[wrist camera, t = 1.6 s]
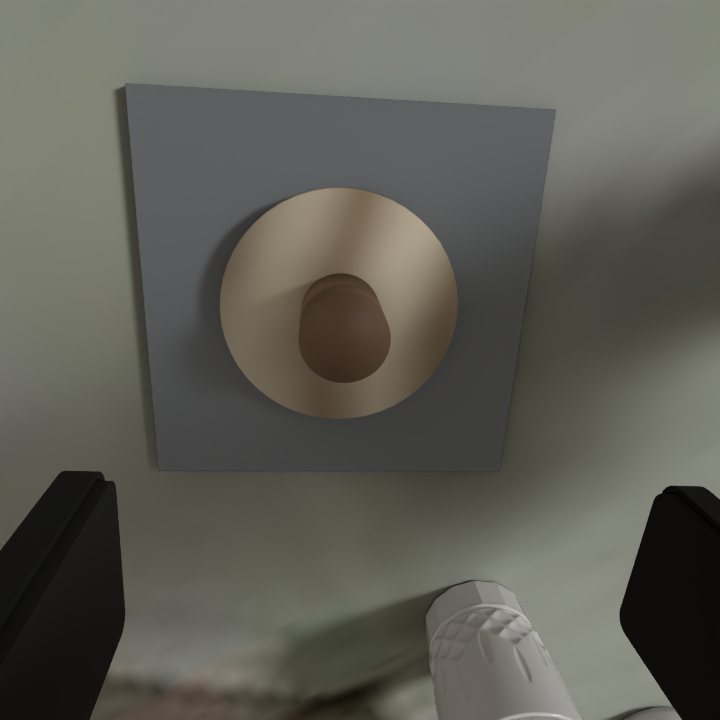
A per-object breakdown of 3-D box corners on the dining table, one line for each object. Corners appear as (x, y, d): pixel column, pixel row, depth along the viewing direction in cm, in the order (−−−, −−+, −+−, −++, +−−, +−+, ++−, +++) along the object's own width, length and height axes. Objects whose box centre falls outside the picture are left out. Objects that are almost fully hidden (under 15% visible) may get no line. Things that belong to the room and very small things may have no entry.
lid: (464, 192, 28) (498, 202, 23) (441, 410, 32) (465, 461, 27) (218, 181, 27) (194, 190, 22) (228, 408, 31) (210, 461, 26)
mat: (551, 110, 27) (556, 109, 27) (496, 466, 34) (499, 471, 34) (129, 84, 26) (124, 82, 25) (161, 465, 33) (158, 470, 32)
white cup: (430, 673, 40) (465, 832, 31) (403, 590, 37) (432, 738, 28) (537, 643, 40) (605, 794, 30) (518, 558, 37) (586, 696, 28)
